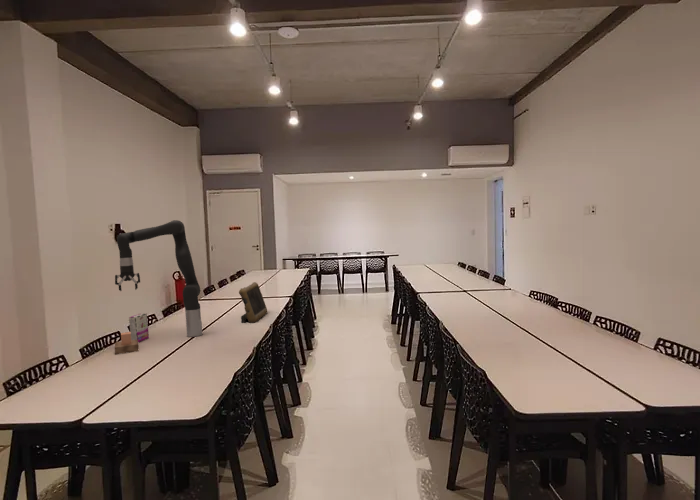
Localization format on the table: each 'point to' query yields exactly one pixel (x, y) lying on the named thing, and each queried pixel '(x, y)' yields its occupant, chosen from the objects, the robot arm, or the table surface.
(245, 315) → the tablet
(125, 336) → the terracotta block
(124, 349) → the walnut base
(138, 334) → the candy bar box
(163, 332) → the table surface
